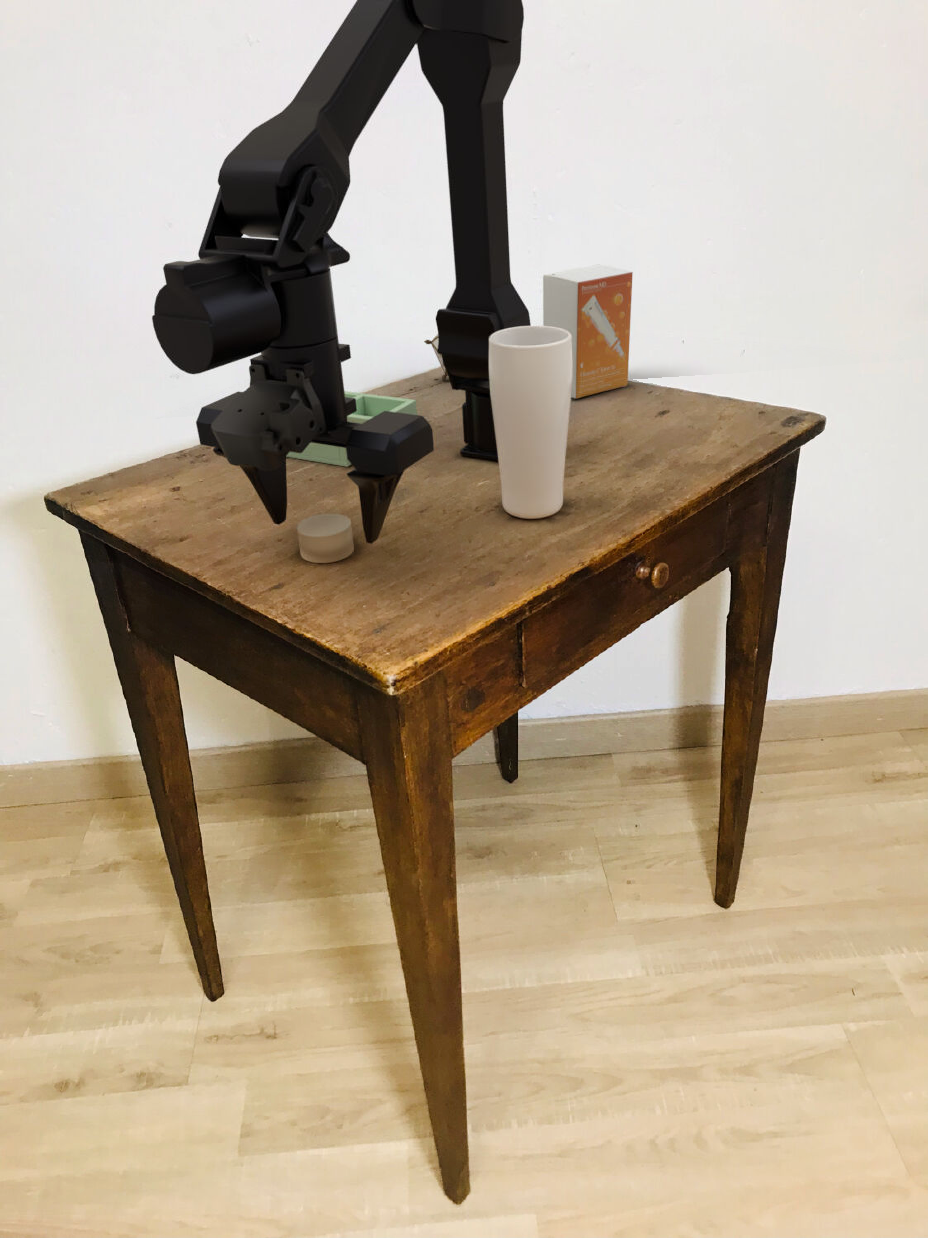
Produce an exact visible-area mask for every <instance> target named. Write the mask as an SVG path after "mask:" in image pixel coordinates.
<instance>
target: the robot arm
mask: <svg viewBox="0 0 928 1238" xmlns="http://www.w3.org/2000/svg"><path fill="white" fill-rule="evenodd" d="M524 12H525V11H524V4H523V0H355V3H354V4H353V6H352V8H350V10H349V12H348V14H347V15H346V17H345V18H344V20H343V21H342V22H341V24H340V26H339V28H338V29H337V31H336V32H335V34H334V36H333V37H332V39H331V40H330V42H329V43H328V44H327V46H326V48H325V50H324V51H323V53H322V54H321V56H320V57H319V58H318V60H317V62H316V63H315V65H314V66H313V68H312V69H311V71H310V73H309V74H308V76H307V77H306V79H305V80H304V81H303V83H302V85H301V87H300V88H299V90H298V91H297V93H296V95H295V96H294V98H292V100H291V102H290V103H289V104H288V105H287V106H286V107H284V109H283V110H282V111H280V112H279V113H277V114H276V115H274V116H273V117H271V118H269V119H268V120H266V121H264V122H263V123H261V124H259V125H258V126H256V127H255V128H253V129H252V130H251V131H250V132H248V134H247V135H246V136H245V137H244V138H243V139H242V140H241V141H240V142H239V143H238V144H237V145H236V146H235V147H234V148H233V149H232V150H231V151H230V152H229V153H228V154H227V156H226V157H225V158H224V160H223V163H222V164H221V167H220V169H219V172H218V177H217V184H218V186H219V188H218V190H217V193H216V197H215V200H214V203H213V206H212V209H211V213H210V215H209V219H208V221H207V225H206V228H205V231H204V234H203V237H202V240H201V243H200V245H199V249H198V252H197V256H198V258H199V259H196V260H195V259H194V260H190V261H184V260H176V261H172V262H167V263H165V264H163V267H162V269H163V274H164V280H165V284H164V285H163V286H162V287H161V288H159V290H158V292H157V295H156V296H155V301H154V306H153V307H154V308H153V309H154V311H153V312H154V313H153V315H152V316H151V322H152V327H153V330H154V333H155V336H156V339H157V342H158V343H159V346H160V348H161V349H162V351H163V353H164V354H165V355H166V357H167V358H168V359H169V361H170V362H171V363H172V365H174V366H175V367H176V368H177V369H179V370H180V371H182V372H184V373H186V374H189V375H199V374H202V373H205V372H208V371H210V370H214V369H217V368H220V367H223V366H226V365H228V364H231V363H235V362H237V361H240V360H243V359H247V358H250V357H251V358H250V359H249V362H250V365H249V367H248V372H249V387H247V388H246V389H245V390H244V391H236V392H234V393H232V394H229V395H227V396H225V397H222V398H220V399H218V400H215V401H213V402H212V403H209V404H207V405H203V406H202V407H201V408H200V411H199V413H198V415H197V418H196V421H195V425H196V430H197V434H198V439H199V444H200V445H201V446H205V447H212V448H213V449H212V451H213V453H214V454H215V455H216V456H219V457H223V458H225V459H226V460H227V462H228V464H229V465H231V466H234V467H240V468H241V470H242V471H243V473H244V474H245V476H246V477H247V479H248V480H249V482H250V483H251V485H252V487H253V488H254V490H255V492H256V494H257V496H258V497H259V499H260V501H261V503H262V504H263V506H264V508H265V509H266V511H267V514H268V515H269V517H270V518H271V521H272V523H274V525H277V526H280V525H281V524H283V523H285V522H286V520H287V511H288V483H287V482H288V479H287V478H288V477H287V476H288V475H287V457H286V456H287V454H288V453H289V452H295V453H302V452H303V451H304V450H305V448H306V447H307V446H308V445H309V444H310V442H311V443H318V444H324V445H330V446H337V447H343V448H346V451H347V459H348V460H349V462H350V463H351V466H352V467H353V468H354V469H352V470H351V471H349V472H347V473H346V475H347V477H348V478H349V479H350V480H351V481H352V482H353V483H354V484H355V485H356V486H357V488H358V495H359V496H358V497H359V504H360V505H359V506H360V512H361V522H362V529H363V533H364V537H365V541H366V543H367V544H370V545H372V544H374V543H375V542H376V541H377V540H378V539H379V537H380V534H381V532H382V528H383V525H384V522H385V520H386V517H387V514H388V512H389V509H390V506H391V502H392V500H393V497H394V495H395V491H396V490H397V487H398V485H399V483H400V481H401V479H402V476H403V474H404V472H405V470H407V469H408V468H410V467H411V466H413V465H414V464H416V463H417V462H419V461H420V460H422V459H424V458H425V457H426V456H428V455H429V454H431V453H432V452H434V451H435V447H434V445H435V444H434V435H433V432H434V431H433V428H432V426H431V424H430V423H429V421H428V420H427V419H426V418H425V416H424V415H420V414H419V415H418V414H417V415H413V414H405V413H397V412H390V411H383V412H382V413H380V414H378V415H376V416H374V417H373V418H371V419H369V420H367V421H366V422H364V423H362V424H360V423H353V422H347V421H348V420H347V416H349V415H351V414H352V413H354V412H356V411H357V408H356V399H355V398H348V397H345V392H344V391H345V384H344V377H343V376H344V375H343V370H342V368H343V366H342V363H344V362H346V361H348V360H350V359H352V355H351V346H350V344H347V343H340V341H339V333H338V324H337V316H336V315H337V314H336V308H335V299H334V298H335V297H334V289H333V282H332V273H331V268H332V267H335V266H339V265H344V264H347V263H349V261H350V260H351V254H350V252H349V251H348V250H347V249H345V247H344V246H342V245H340V244H339V243H337V242H336V241H335V240H334V239H333V238H332V236H331V235H330V234H329V231H330V230H331V229H332V228H333V226H334V223H335V222H336V219H337V217H338V214H339V212H340V210H341V208H342V206H343V205H342V204H343V203H344V200H345V197H346V196H347V193H348V190H349V189H350V185H351V168H350V156H351V154H352V151H353V148H354V146H355V144H356V142H357V141H358V139H359V137H360V136H361V134H362V132H363V131H364V129H365V128H366V126H367V125H368V123H369V121H370V119H371V118H372V116H373V114H374V113H375V111H376V109H378V107H379V104H381V101H382V99H383V98H384V96H385V95H386V93H387V92H388V90H389V88H390V86H391V85H392V84H393V82H394V81H395V78H396V77H397V75H398V74H399V72H400V71H401V69H402V67H403V66H404V64H405V62H406V60H407V59H408V57H409V55H410V54H411V53H412V51H413V49H414V47H415V46H416V48H417V53H418V54H417V55H418V59H419V64H420V71H421V73H422V74H423V76H424V77H425V79H426V81H427V83H428V85H429V86H430V87H431V89H432V91H433V93H434V95H435V96H436V98H437V100H438V102H439V103H440V104H441V107H442V113H443V124H444V125H443V127H444V141H445V152H446V153H445V154H446V165H447V166H446V167H447V180H448V193H449V206H450V221H451V234H452V248H453V262H454V276H455V287H454V290H453V292H452V294H451V295H450V298H449V300H448V303H447V305H446V306H445V308H439V309H437V313H436V315H435V323H436V328H437V334H438V350H437V353H438V354H441V355H442V360H443V364H444V366H445V369H446V370H447V374H448V376H447V378H448V380H449V383H450V387H451V389H452V390H454V391H464V393H465V394H464V397H465V402H463V404H461V415H462V433H463V443H464V444H465V445H464V446H462V447H461V448H460V449H459V453H460V455H461V456H466V457H470V458H471V457H473V458H479V459H484V460H485V459H486V460H492V461H498V453H497V445H496V436H495V428H494V421H493V413H492V405H491V396H490V385H489V361H488V355H489V337H490V335H492V334H493V333H495V332H497V331H499V330H503V329H507V328H512V327H520V326H532V323H531V318H530V312H529V309H528V308H527V306H526V305H525V303H524V301H523V299H522V298H521V296H520V294H519V292H518V291H517V290H516V288H515V286H514V284H513V283H512V278H511V262H510V260H511V259H510V237H509V213H508V211H509V210H508V191H507V188H508V187H507V169H506V168H507V165H506V144H505V143H506V141H505V123H504V122H505V121H504V100H505V98H506V95H507V93H508V91H509V89H510V87H511V84H512V82H513V80H514V79H515V76H516V74H517V71H518V69H519V67H520V65H521V61H522V40H523V38H522V37H523V28H524V20H525V13H524ZM243 236H247V237H243ZM258 354H259V355H258ZM255 355H257V356H255ZM252 356H254V357H252Z"/></svg>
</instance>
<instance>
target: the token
mask: <svg viewBox="0 0 928 1238" xmlns="http://www.w3.org/2000/svg"><path fill="white" fill-rule="evenodd" d="M352 525H353V524H352V520H351V519H350V518H349V517H347V516H346V515H343V514H339V513H321V514H314V515H311V516H308V517H306V518H304V519H302V520H301V521H299V523H298V524H297V525H296V533H297V539H298V540H297V541H298V546H299V553H300V556H301V558H302V559H303V560H305V561H307V562H309V563H314V564H329V563H335V562H338V561H339V562H340V561H342V560H344V559H346V558H348V557H349V556H351V555H352V554H353V552H355V551H354V550H355V543H354V534H353V526H352Z"/></svg>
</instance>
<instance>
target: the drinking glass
mask: <svg viewBox="0 0 928 1238" xmlns="http://www.w3.org/2000/svg"><path fill="white" fill-rule="evenodd" d="M488 361H489V385H490V396H491V405H492V413H493V421H494V428H495V436H496V445H497V453H498V460H497V461H498V467H499V468H498V469H499V477H500V488H501V489H500V490H501V491H500V493H501V505H502V508H503V509H504V511H505V512H506V513H508V514H509V515H511V516H513V517H515V518H520V519H527V520H532V519H533V520H535V519H543V518H547V517H550V516H553V515H554V514H557V513H558V512H559V511H560V510H561V509H562V507H563V504H564V483H565V482H564V481H565V471H566V469H565V468H566V458H567V446H568V438H569V437H568V435H569V426H570V416H571V405H572V397H571V394H572V372H573V363H572V336H571V333H570V332H568V331H567V330H565V329H561V328H557V327H551V326H543V325H531V326H520V327H512V328H507V329H503V330H499V331H497V332H495V333H493V334H492V335H490V337H489V355H488Z"/></svg>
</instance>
